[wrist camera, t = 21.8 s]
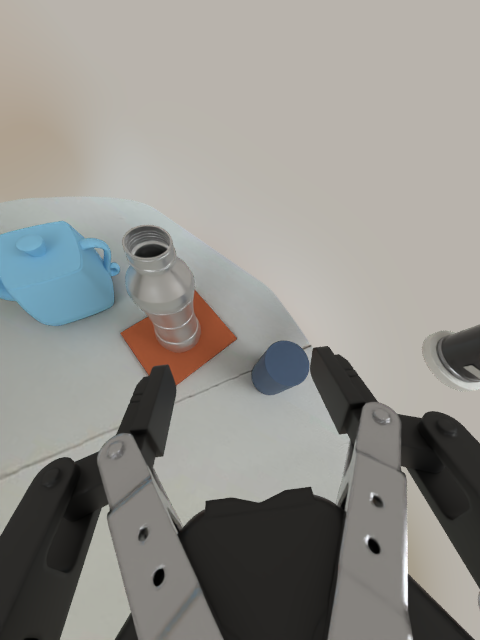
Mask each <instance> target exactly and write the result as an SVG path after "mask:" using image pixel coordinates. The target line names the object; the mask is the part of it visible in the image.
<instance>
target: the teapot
mask: <svg viewBox="0 0 480 640" xmlns="http://www.w3.org/2000/svg"><path fill="white" fill-rule="evenodd" d="M94 248H101V249H103V250H104V259H103V260H102V258H101V257H100V256H99V254H98V253H97V252H96V250H95V249H94ZM110 262H111V251H110V248H109V246H108V245H107V244H106V243H105V242H104V241H102V240H99V239H95V238H86V239H85V238H84V237H83V236H82V235H81V234H80V233H78V232H77V231H76V230H75V229H74V228H73V227H72V226H70V225H69V224H68V223H66V222H64V221H59V222H52V223H47V224H42V225H37V226H32V227H28V228H23V229H19V230H15V231H11V232H7V233H4V234H1V235H0V298H1V299H5V300H10V301H17V303H18V304H19V305H20V306H21V307H22V308H23V309H24V310H25V311H26V312H27V313H28V314H30V315H31V316H32V317H33V318H35V319H36V320H37V321H39V322H41V323H43V324H45V325H51V326H60V325H64V324H67V323H71V322H74V321H77V320H80V319H83V318H86V317H88V316H91V315H94V314H96V313H99V312H101V311H104V310H106V309H108V308H110V307H112V305H113V304H114V289H113V283H112V279H111V276H115V275H117V274H118V273H119V272H120V267H119V265H118V264H116V263H110Z"/></svg>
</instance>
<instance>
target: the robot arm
mask: <svg viewBox="0 0 480 640" xmlns="http://www.w3.org/2000/svg"><path fill="white" fill-rule="evenodd" d="M436 350H437V355H438V357H439V360H440V362H441V363H442V365H443V366H444V367H445V369H446V370H447V371H448V372H449V373H450V374H452V375H453V376H454V377H456V378H457V379H459V380H461V381H464V382H468V383H475V382H480V325H477V326H475V327H472V328H469V329H466V330H463V331H460V332H457V333H455V334H452V335H448V336H445V337H442V338H441V339H439V341H438V342H437V346H436ZM310 372H311V376H312V379H313V381H314V383H315V385H316V387H317V389H318V391H319V393H320V395H321V398H322V400H323V402H324V404H325V406H326V408H327V410H328V412H329V414H330V416H331V418H332V420H333V422H334V424H335V427H336V429H337V431H338V433H339V434H346V433H347V434H348V436H349V438H350V442H349V447H348V452H347V457H346V462H345V467H344V472H343V477H342V481H341V485H340V488H339V492H338V496H337V500H336V504H334V503H333V502H331V501H329V500H327V499H325V498H323V497H320V496H317V495H313V492H312V489H311V487H306V488H298V489H291V490H285V491H283V492H281V493H279V494H277V495H275V496H273V497H271V498H269V499H267V500H265V501H263V502H260V503H257V502H252V501H247V500H242V499H237V498H225V499H217V500H210V501H206V506H205V510H203V511H201V512H199V513H198V514H196V515H195V516H194V517H193V518H192V519H190V520H189V521H188V522H187V524H186V525H185V526H184V527H183V525H182V523H181V521H180V519H179V517H178V515H177V513H176V511H175V510H174V508H173V506H172V504H171V502H170V500H169V498H168V496H167V494H166V492H165V490H164V488H163V486H162V484H161V482H160V480H159V478H158V476H157V474H156V472H155V470H154V468H153V464H154V460H155V457H161V456H163V455H164V450H165V445H166V440H167V435H168V430H169V426H170V421H171V416H172V411H173V406H174V401H175V397H176V383H175V380H174V378H173V375H172V372H171V369H170V367H169V365H168V364H167V365H158V366H153V367H152V370H151V372H150V375H149V376H148V377H143V379H142V380H141V381H140V382H139V383H138V384H137V386H136V388H135V391H134V393H133V396H132V398H131V400H130V404H129V405H128V408H127V410H126V413H125V415H124V417H123V420H122V422H121V425H120V427H119V430H118V432H117V434H116V435H115V436H114V437H112V438H111V439H109V440H108V441H107V442H106V443H105V444H104V445H103V446H102V448H101V449H100V451H98V452H96V453H94V454H92V455H90V456H87V457H85V458H83V459H80V460H78V461H76V462H74V461H73V460H72V459H71V458H68V457H63V458H59V459H57V460H54V461H53V462H51V463H49V464H48V465H47V466H45V467H44V468H43V469H42V470H41V471H40V472H39V473H38V474H37V475H36V477H35V478H34V480H33V481H32V483H31V484H30V486H29V488H28V490H27V491H26V493H25V495H24V497H23V498H22V500H21V502H20V503H19V505H18V507H17V509H16V510H15V512H14V514H13V515H12V517H11V519H10V521H9V522H8V524H7V526H6V527H5V529H4V531H3V533H2V534H1V536H0V640H60V637H61V634H62V631H63V627H64V624H65V621H66V618H67V615H68V612H69V609H70V605H71V602H72V599H73V596H74V593H75V590H76V587H77V583H78V580H79V577H80V574H81V571H82V568H83V565H84V561H85V558H86V555H87V552H88V549H89V546H90V543H91V539H92V536H93V533H94V530H95V527H96V524H97V521H98V517H99V514H100V511H101V508H102V507H104V506H106V505H108V504H109V507H110V512H108V514H107V521H108V525H109V529H110V533H111V537H112V541H113V545H114V548H115V552H116V556H117V560H118V564H119V568H120V571H121V575H122V579H123V583H124V587H125V590H126V594H127V598H128V602H129V606H130V610H131V613H130V615H129V617H128V618H127V620H126V622H125V623H124V625H123V627H122V628H121V630H120V632H119V633H118V635H117V637H116V638H115V640H474V639H473V638H472V637H471V636H470V635H469V634H468V633H467V632H466V631H465V630H464V629H463V628H462V627H461V626H460V625H459V624H458V623H457V622H456V621H455V620H454V619H453V618H452V617H451V616H450V615H449V614H448V613H447V612H446V611H445V610H444V609H443V608H442V607H441V606H440V605H439V604H438V603H437V602H436V601H435V600H434V599H433V598H432V597H431V596H430V595H429V594H428V593H427V592H426V591H425V590H424V589H423V588H422V587H421V586H420V585H419V584H418V583H417V582H416V581H415V580H414V579H413V578H412V577H411V576H410V575H409V574H408V573H407V480H406V475H405V473H403V472H402V471H401V466H403V467H406V468H407V470H408V471H409V473H410V474H411V476H412V478H413V479H414V481H415V483H416V484H417V486H418V488H419V489H420V491H421V493H422V494H423V496H424V497H425V499H426V501H427V502H428V504H429V506H430V507H431V509H432V511H433V512H434V514H435V516H436V517H437V519H438V520H439V522H440V524H441V526H442V527H443V529H444V530H445V532H446V534H447V536H448V537H449V539H450V541H451V542H452V544H453V545H454V547H455V549H456V550H457V552H458V554H459V555H460V557H461V559H462V560H463V562H464V564H465V565H466V567H467V569H468V570H469V572H470V574H471V575H472V577H473V579H474V580H475V582H476V583H477V585H478V587H479V588H480V443H479V442H478V441H477V440H476V439H475V438H474V437H473V436H472V435H471V434H470V433H469V432H468V431H467V430H466V428H465V427H464V426H463V425H461V423H459V422H458V421H457V420H455V419H454V418H452V417H450V416H448V415H446V414H443V413H440V412H434V411H432V412H427V413H425V414H424V416H423V417H422V418H417V417H411V416H406V415H400V414H397V413H396V412H395V411H394V410H392V409H391V408H390V407H388V406H386V405H384V404H382V403H379V402H378V401H377V400H376V399H375V397H374V396H373V394H372V393H371V392H370V390H369V389H368V388H367V386H366V385H365V384H364V382H363V381H362V380H361V378H360V377H359V376H358V374H357V373H356V371H355V370H354V369H353V367H352V366H351V365H350V363H349V362H348V361H347V360H346V359H345V358H343V357H342V356H340V355H339V354H338V355H334V353H333V352H332V351H331V349H330V348H329V347H328V346H325V347H316V348H313V351H312V358H311V365H310ZM478 604H479V609H480V592H479V595H478Z"/></svg>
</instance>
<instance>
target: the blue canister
mask: <svg viewBox="0 0 480 640" xmlns="http://www.w3.org/2000/svg"><path fill="white" fill-rule="evenodd" d="M308 372H309V360H308V357H307V355H306V353H305V352H304V351H303V349H302V348H301V347H300V346H298V345H297V344H295V343H293V342H290V341H278V342H276V343H274V344H272V345H271V346H270V347H269V348H268V349H267V351H266V352H265V353H264V355H263V356H262V357H261V358H260V360H259V361H258V362H257V363H256V365H255V366H254V368H253V370H252V382H253V384H254V386H255V387H256V389H257V390H258V391H260V392H261V393H263V394H266V395H275V394H277V393H280V392H282V391H284V390H287V389H289V388H291V387H294V386H296V385H298V384H300V383H302V382H303V381H304V380H305V379H306V377H307V375H308Z"/></svg>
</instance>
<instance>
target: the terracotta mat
mask: <svg viewBox="0 0 480 640" xmlns="http://www.w3.org/2000/svg"><path fill="white" fill-rule="evenodd" d="M193 309H194V313H195V316H196V317H197V319H198V321H199V323H200V326H201V335H200V338H199V341H198V343H197V344H196V345H195V346H194V347H193V348H192V349H190V350H188V351H186V352H181V353H178V352H172V351H170V350H168V349H166V348H164V347H163V346H162V345H161V344H160V343H159V342H158V340H157V338H156V334H155V328H154V325H153V323H152V321H151V320H150V318H149V317H147V318H145V319H143V320H142V321H140V322H138V323H136V324H135V325H133V326H131V327H130V328H128V329H126V330H125V331H123V332H121V333H120V334H121V335H122V336H123V338H124V339H125V341H126V342H127V344H128V345H129V347H130V348H131V350H132V351H133V353H134V354H135V356H136V357H137V358H138V360H139V361H140V363H141V364H142V366H143V367H144V369H145V370H146V372H147V373H148V375H150V372H151V370H152V367H153V366H158V365H167V364H168V365H169V367H170V369H171V372H172V375H173V378H174V380H175V383H176V385H177V384H179V383H180V382H181V381H183V380H184V379H185V378H187V377H188V376H189V375H190V374H192V373H193V372H194V371H196V370H197V369H198V368H200V367H201V366H202V365H204V364H205V363H206V362H208V361H209V360H210V359H211V358H213V357H214V356H215V355H217V354H218V353H219V352H221V351H222V350H223V349H225V348H226V347H227V346H228V345H230V344H231V343H232V342H234V341H235V340H236V339H237V338H236V337H235V336H234V334H233V333H232V332H231V331H230V330H229V329H228V327H227V326H226V325H225V324H224V323H223V322H222V321H221V319H220V318H219V317H218V316H217V315H216V314H215V312H214V311H213V310H212V309H211V308H210V307H209V306H208V304H207V303H206V302H205V301H204V300H203V299H202V297H201V296H200V295H199V294H198V293H197V292H196V291H195V290H194V299H193Z"/></svg>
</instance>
